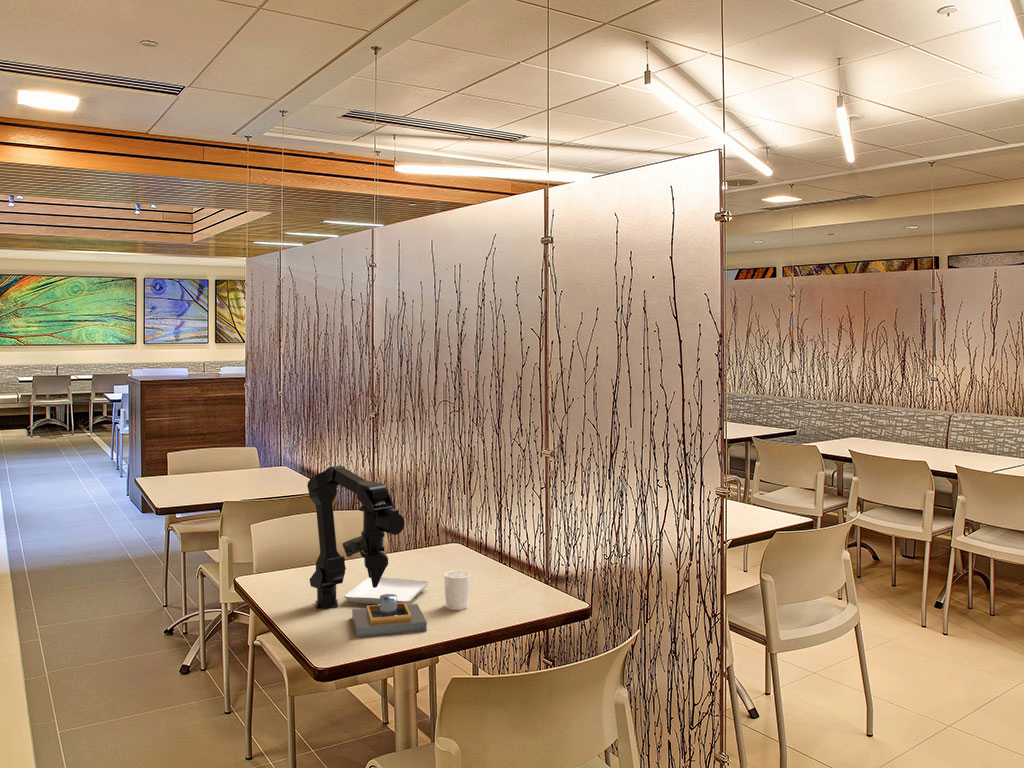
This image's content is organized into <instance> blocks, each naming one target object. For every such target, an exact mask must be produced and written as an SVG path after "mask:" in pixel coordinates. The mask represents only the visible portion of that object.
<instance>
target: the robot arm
mask: <svg viewBox="0 0 1024 768" xmlns="http://www.w3.org/2000/svg"><path fill="white" fill-rule="evenodd" d="M306 486H307V491H308V495H309V499H311V501H312V502H313V504H314V505H315V510H316V520H317V523H316V524H317V533H318V542H319V551H320V552H319V555H318V557H317V559H316V562H315V571H314V572H313V574H312V575H311V577H310V578H309V584H310V587H312V588H315V589H316V600H315V602H316V603H315V608H316V609H326V608H327V607H329V608H337V607H339V602H338V599H337V585H339V584H341V585H342V584H343V582H344V578H345V575H346V570H347V568H346V558H350V557H352V556H353V555H355V554H357V553H360V554H359V555H360V556H361V557H362V558H364V559H363V560H364V561H363V562H364V564H363V565H364V567H365V568H366V570H367V574H368V577H369V578H371V580H372V586H373V588H376V587H377V586H378V583H379V581H380V579H381V577H383V574H384V573H385V570H386V568H388V566H389V557H388V555H387V554H386V553H385V545H384V538H385V533H386V534H391V535H393V536H394V535H395V536H396V535H399V534H401V532H403V530H404V528H405V522H406V521H405V520H404V517H403V516H402V515H401V514H400V510H399V509H395V504H394V501H393V499H392V497H391V495H390V492H389V490H388V488H387V486H386V485H385V484H384V483H382V482H378V481H371V480H367V479H365V478H362V476H359V475H357V474H356V473H354V472H352V471H350V470H349V469H347V468H346V467H345V466H344V465H335V466H329V467H328V468H326V469H325V470H323V471H322V472H320V473H317V474H316V475H313V476H311V477H310V478H309V480H308V481H307V485H306ZM339 486H342V487H343V488H345V489H346V490H348V491H350V492H352V493H354V494H355V496H356V499H357V501H359V502H360V503H361V504H362V505H361V506H360V507H359V508H358V510H359V511H360V512H362V513H363V515H362V517H363V519H362V521H363V522H362V523H363V526H362V531H361V533H360V534H361V535H360V536H357V537H354V538H352V539H350V540H349V539H348V540H347V541H344V542H343V543H342V548H343V550H344V553H345V556H346V558H345V556H343V555H342V556H341V554H340V553H339V552H338V547H337V538H336V527H335V526H336V525H335V515H334V504H333V503H334V501H335V499H336V497H337V494H338V487H339ZM327 609H328V608H327Z"/></svg>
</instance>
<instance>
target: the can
mask: <svg viewBox="0 0 1024 768" xmlns="http://www.w3.org/2000/svg"><path fill="white" fill-rule="evenodd" d="M386 616H397V595H395V594H384V595H381V596H380V617H386Z"/></svg>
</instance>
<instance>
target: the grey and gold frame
mask: <svg viewBox="0 0 1024 768" xmlns="http://www.w3.org/2000/svg"><path fill="white" fill-rule="evenodd" d="M351 615H352V616H351V619H352V624H353V626H354V627H355V628H354V631H355V635H356V638H365V637H375V636H385V635H386V636H387V635H396V634H398V635H399V634H406V633H409V634H410V633H418V632H419V633H420V632H427V631H428V630H427V624H428V623H427V622H428V621H427V620H426V618H425V616H424V614H423V612H422V610H421V608H420V606H419V605H418V603H414V604H408V605H406V603H397V616H386V617H380V605H374V604H370V605H366V608H365V607H364V608H356V609H354V608H353V609H351Z"/></svg>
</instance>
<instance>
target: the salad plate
mask: <svg viewBox="0 0 1024 768" xmlns="http://www.w3.org/2000/svg"><path fill="white" fill-rule="evenodd" d="M429 584H430V581H429V580H422V579H421V580H420V579H409V578H401V577H399V578H398V577H387V576H386V577H385V576H382V577H381V579H380V581H379V583H378V586H377V587H376V588H373V586H372V580H371V578H369V576H368V577H367V578H365V579H364V580H363V581H361V582H360V583H359V584H358V585H357V586H355V587H354V588H353V589H351V590H350V591H348V592H347V593H346V594H345V595H343V596H344V598H345V599H346V600H347V601H349V602H352V603H355V604H356V603H357V604H362V603H367V604H366V605H374V604H380V596H381V595H384V594H395V595H397V603H406V605H410V604H411V602H412V601H413V600H414V598H416V597H417V596H418V595H419V594H420V593H421V592H422V591H424V590H425V588H427V587H428V585H429Z"/></svg>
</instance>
